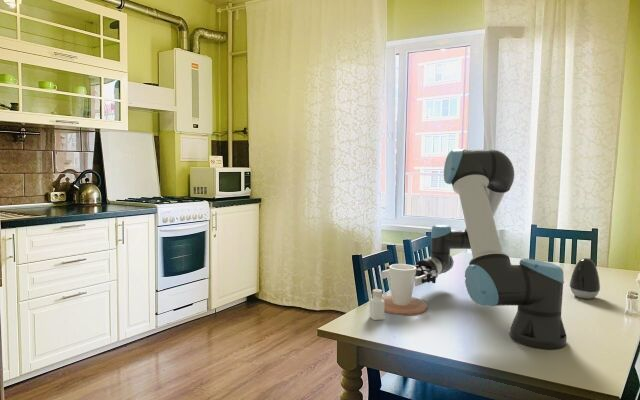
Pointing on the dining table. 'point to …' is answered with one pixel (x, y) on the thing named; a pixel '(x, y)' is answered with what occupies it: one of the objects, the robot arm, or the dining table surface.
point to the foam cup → (402, 283)
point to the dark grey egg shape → (585, 279)
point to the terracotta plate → (405, 306)
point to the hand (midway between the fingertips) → (398, 278)
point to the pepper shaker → (377, 305)
